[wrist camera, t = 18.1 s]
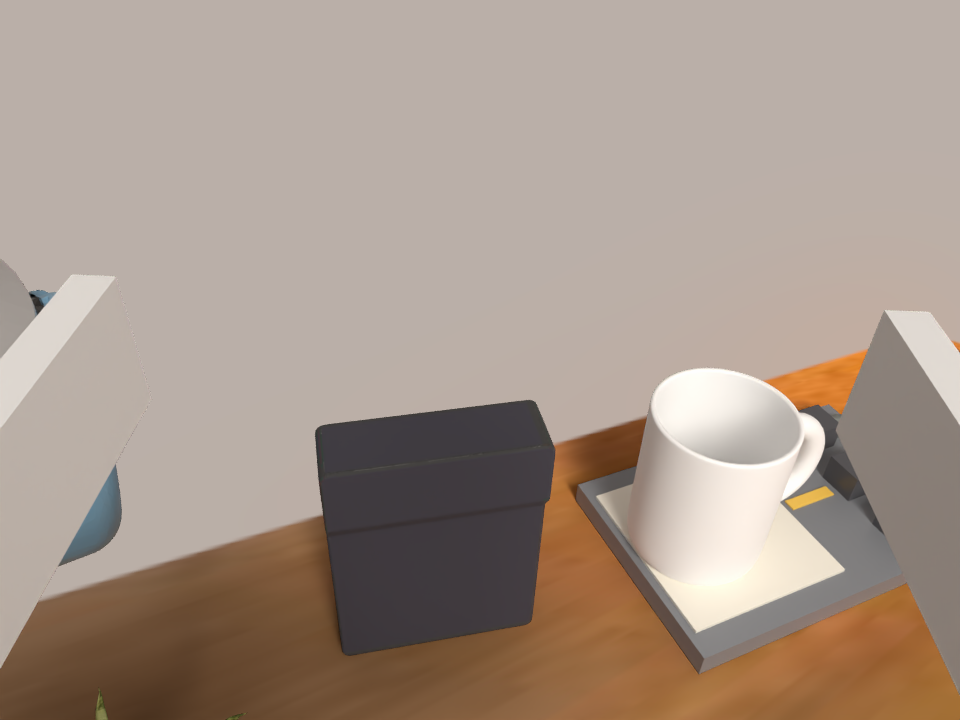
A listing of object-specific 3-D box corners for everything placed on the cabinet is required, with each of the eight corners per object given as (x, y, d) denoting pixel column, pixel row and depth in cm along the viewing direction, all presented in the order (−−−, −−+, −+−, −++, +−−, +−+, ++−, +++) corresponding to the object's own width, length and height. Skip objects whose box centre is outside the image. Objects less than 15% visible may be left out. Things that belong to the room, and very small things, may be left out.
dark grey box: (516, 574, 49) (532, 387, 40) (535, 633, 46) (557, 445, 37) (338, 603, 47) (312, 414, 38) (343, 667, 44) (317, 477, 35)
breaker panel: (698, 674, 44) (711, 637, 42) (575, 499, 54) (581, 463, 52) (976, 552, 52) (999, 516, 50) (822, 419, 62) (836, 384, 60)
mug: (761, 466, 55) (802, 347, 49) (837, 559, 49) (896, 436, 43) (603, 502, 52) (625, 380, 46) (663, 606, 46) (698, 481, 40)
